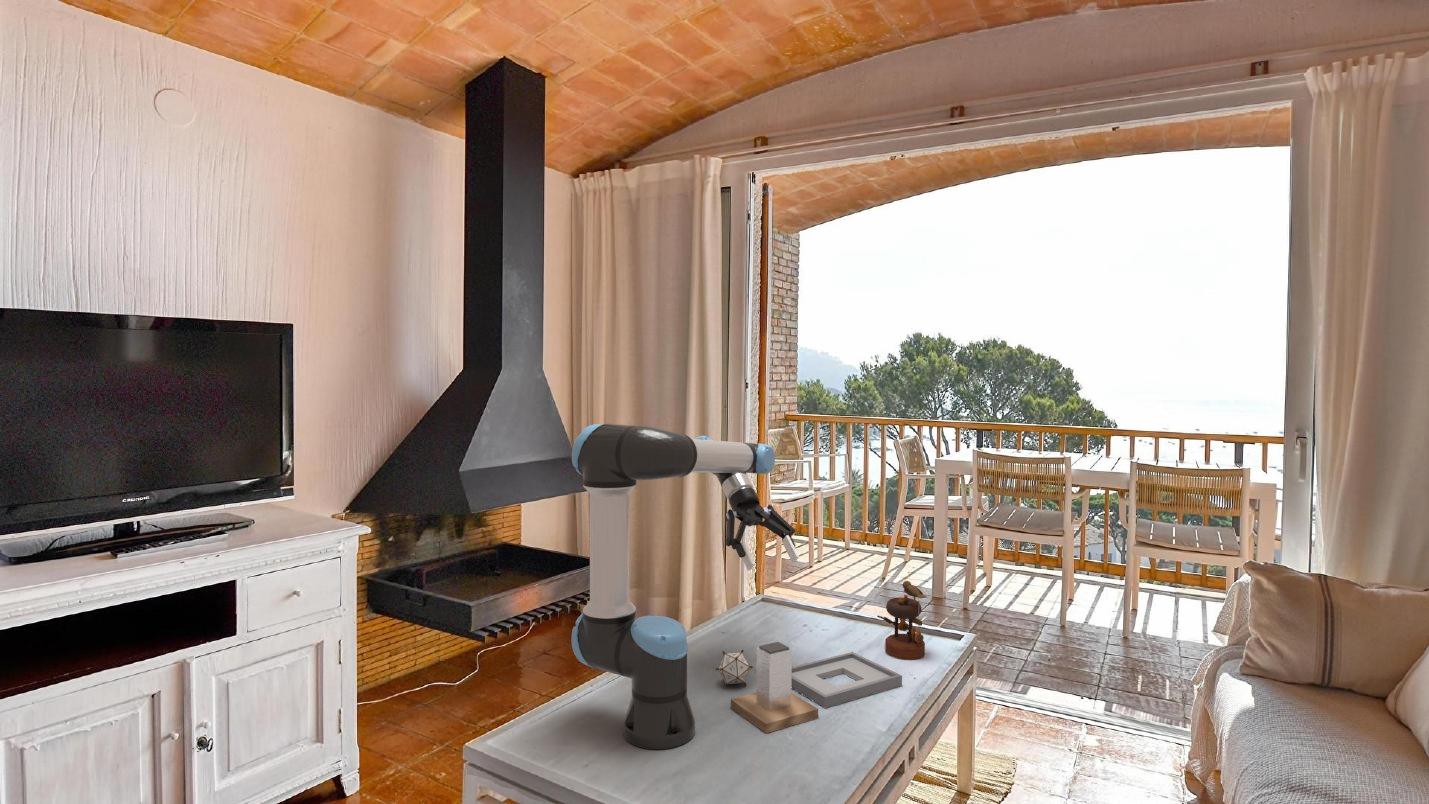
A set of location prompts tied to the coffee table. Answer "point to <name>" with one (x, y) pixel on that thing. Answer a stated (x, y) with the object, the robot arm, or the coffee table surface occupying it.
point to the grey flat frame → (856, 667)
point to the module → (774, 676)
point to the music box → (905, 625)
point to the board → (774, 712)
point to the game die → (734, 668)
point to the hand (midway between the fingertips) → (774, 563)
